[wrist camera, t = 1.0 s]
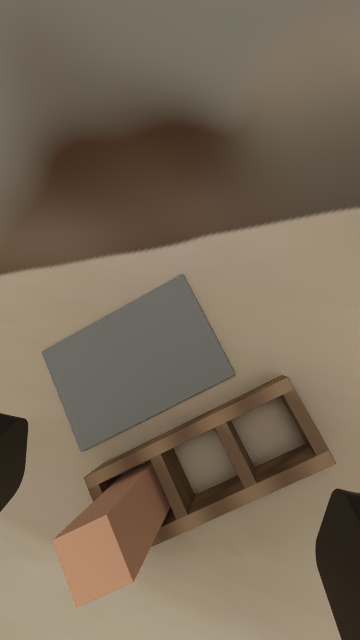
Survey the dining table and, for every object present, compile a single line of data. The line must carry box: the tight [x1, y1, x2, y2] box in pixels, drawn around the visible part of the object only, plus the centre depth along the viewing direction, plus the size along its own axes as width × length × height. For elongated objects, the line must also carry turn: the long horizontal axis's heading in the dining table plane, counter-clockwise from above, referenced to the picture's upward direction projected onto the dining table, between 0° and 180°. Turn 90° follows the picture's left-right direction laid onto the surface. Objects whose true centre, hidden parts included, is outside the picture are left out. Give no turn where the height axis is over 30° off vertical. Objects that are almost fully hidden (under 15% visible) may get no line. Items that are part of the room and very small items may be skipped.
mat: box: [42, 274, 235, 452], centre depth 37 cm, size 20×13×1 cm, turn 117°
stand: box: [84, 375, 336, 547], centre depth 32 cm, size 23×8×4 cm, turn 117°
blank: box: [53, 460, 171, 607], centre depth 29 cm, size 4×4×14 cm
